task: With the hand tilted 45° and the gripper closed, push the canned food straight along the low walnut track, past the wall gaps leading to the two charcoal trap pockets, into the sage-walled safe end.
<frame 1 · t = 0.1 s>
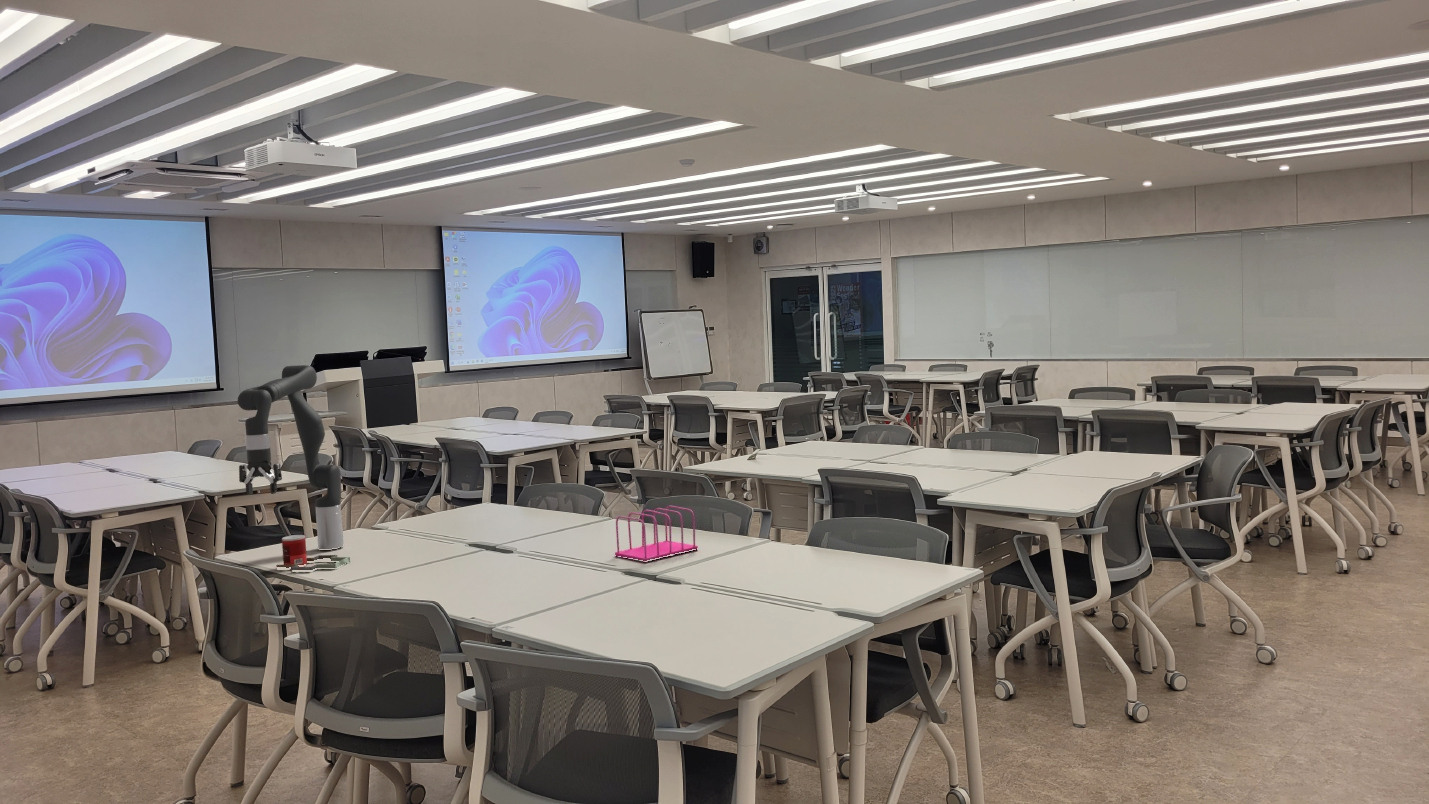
hand: (261, 493, 336), 29 cm above the table, tool pointing down, fingers open, 8 cm apart
file sorter: (656, 554, 351), on the table
canned food: (295, 567, 353), on the table
trap track: (313, 566, 352), on the table
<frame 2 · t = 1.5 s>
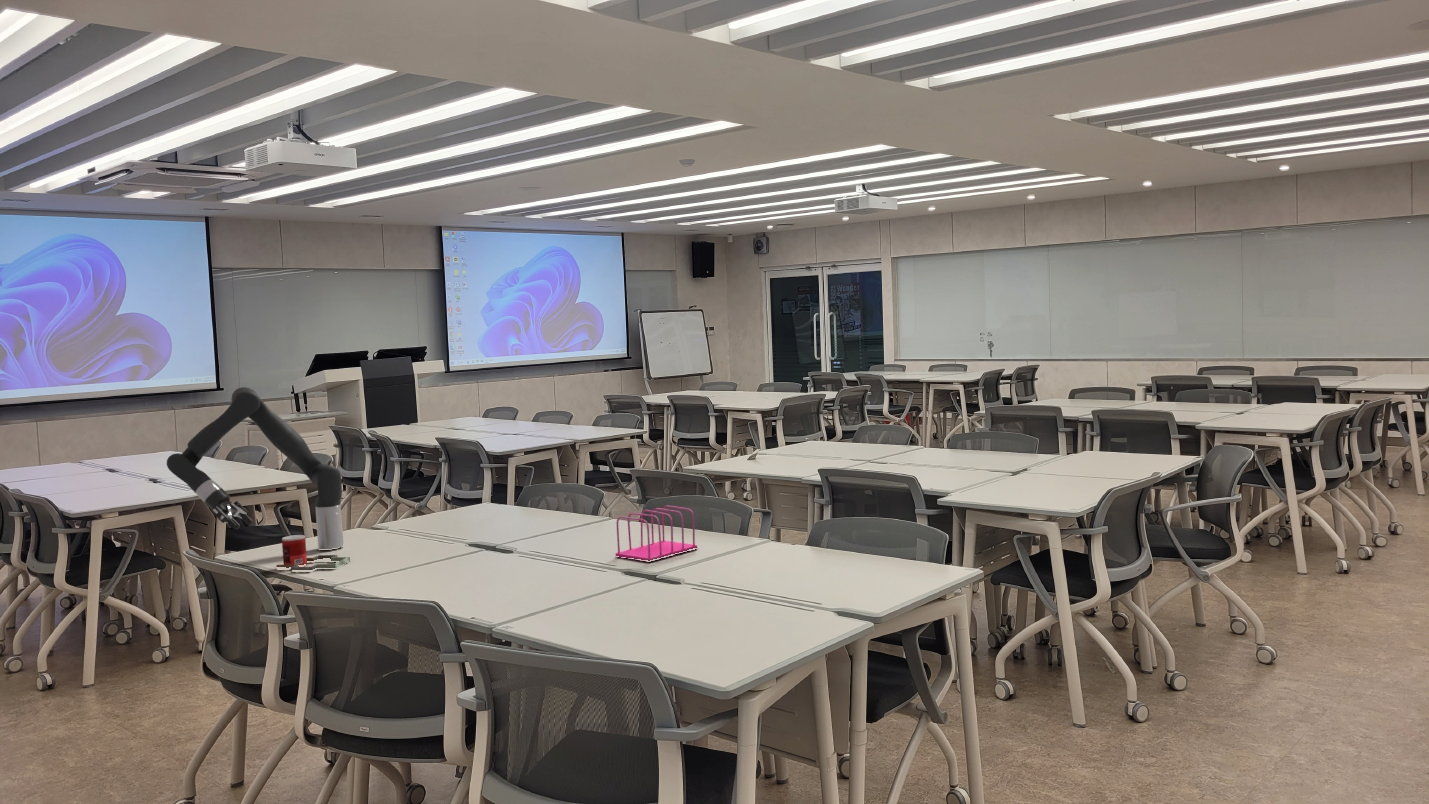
hand: (244, 525, 353), 16 cm above the table, tool tilted 45°, fingers open, 8 cm apart
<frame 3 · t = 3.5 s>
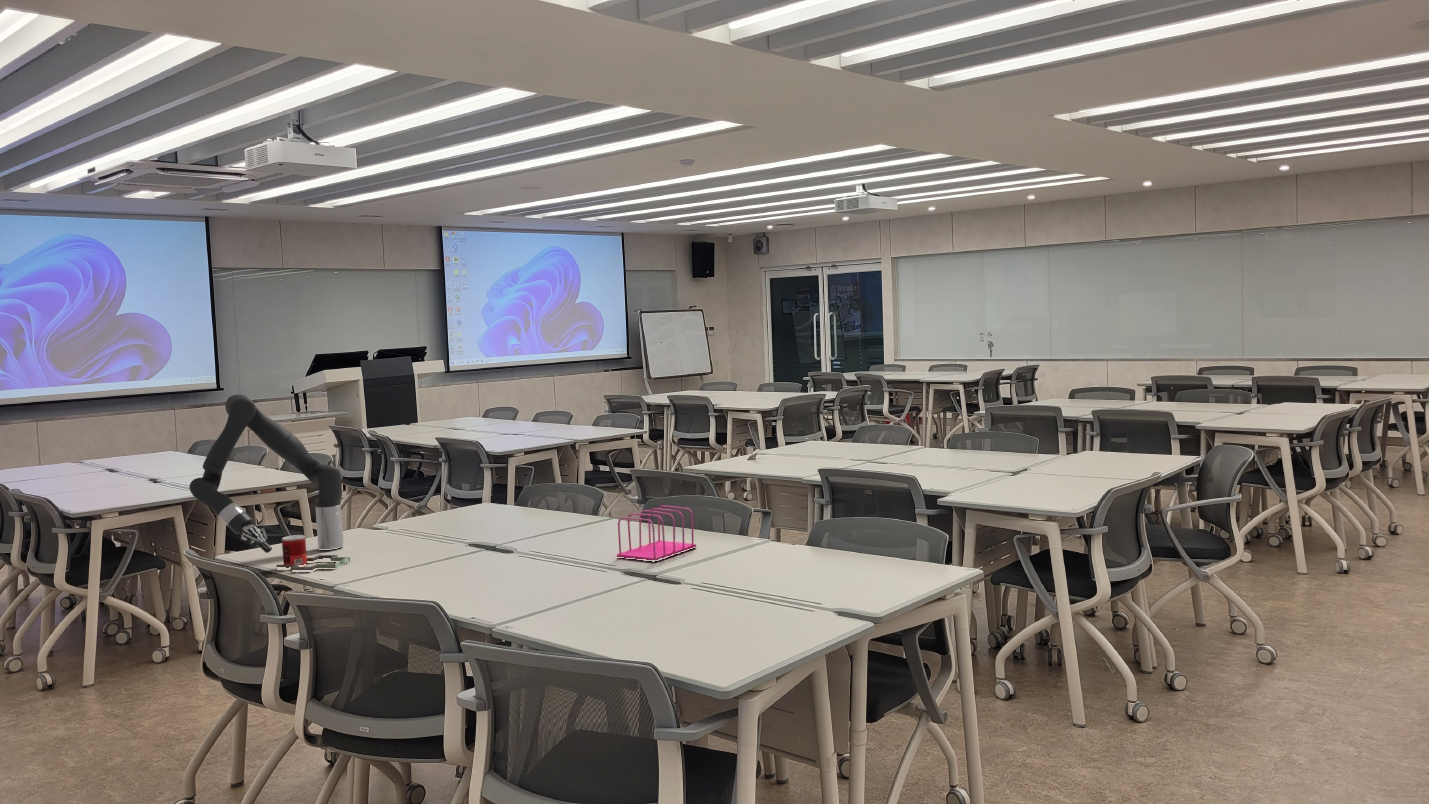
hand: (269, 550, 353), 6 cm above the table, tool tilted 45°, fingers closed
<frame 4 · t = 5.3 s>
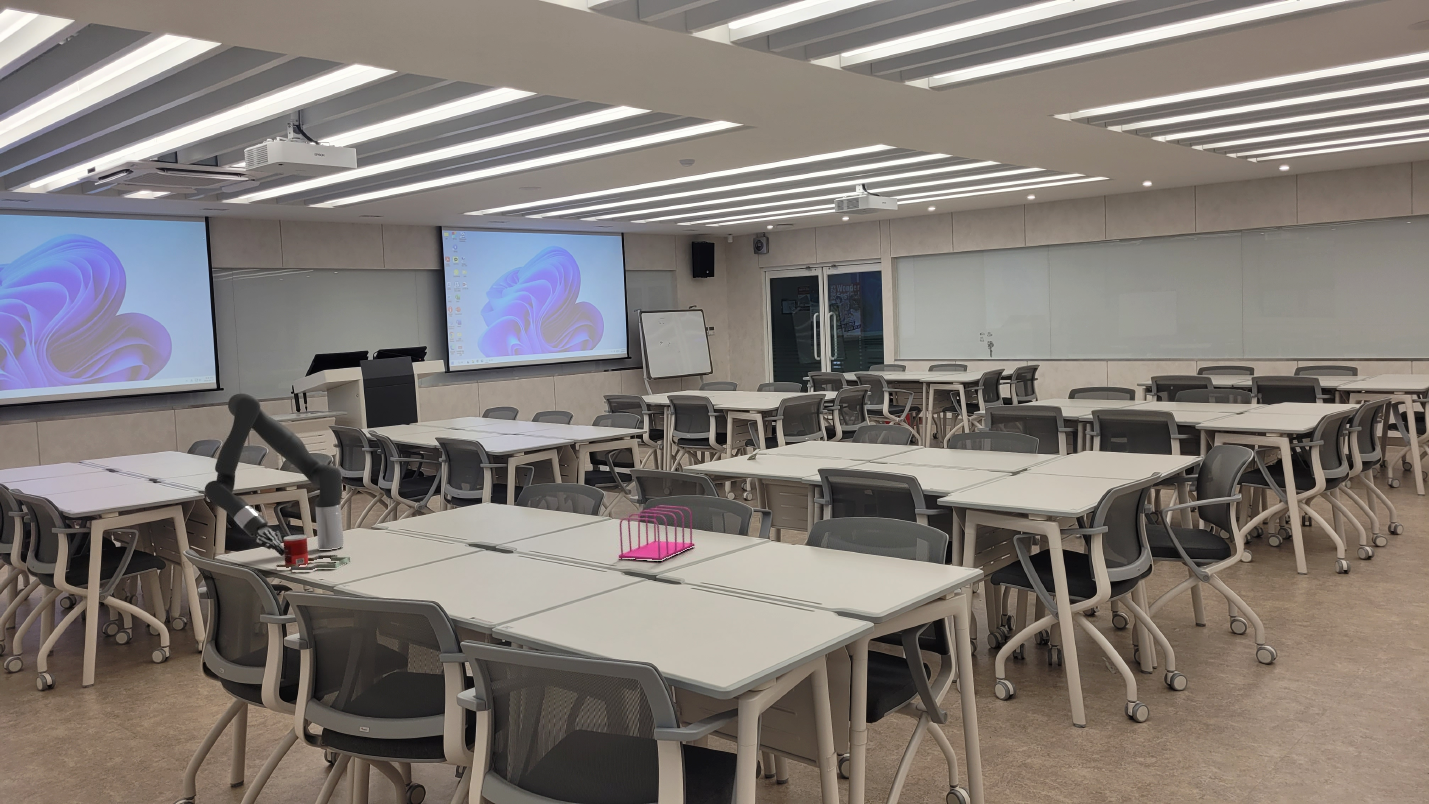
hand: (284, 553, 353), 5 cm above the table, tool tilted 45°, fingers closed
canned food: (297, 567, 353), on the table, touching gripper
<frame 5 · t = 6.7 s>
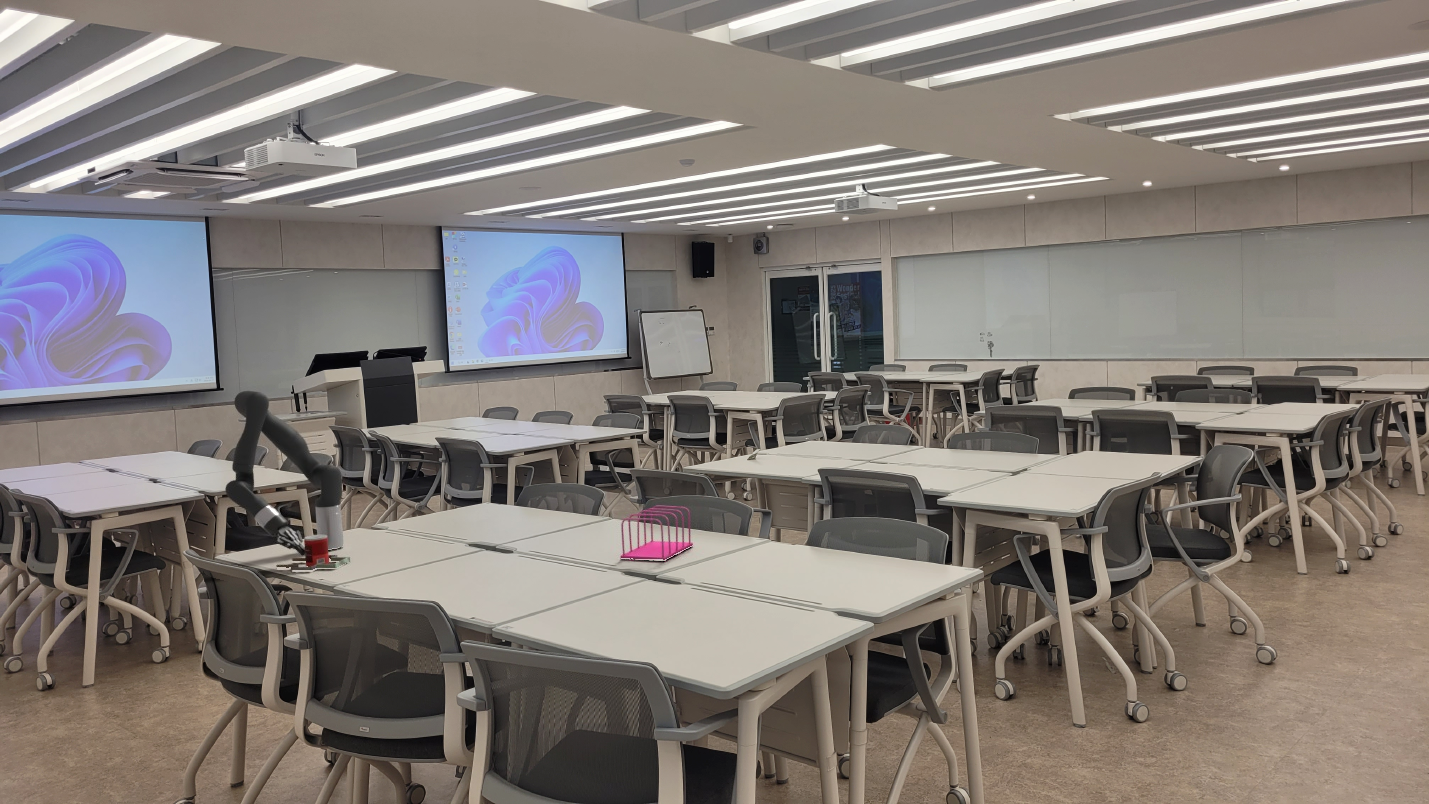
hand: (305, 553, 352), 5 cm above the table, tool tilted 45°, fingers closed
canned food: (317, 567, 352), on the table, touching gripper
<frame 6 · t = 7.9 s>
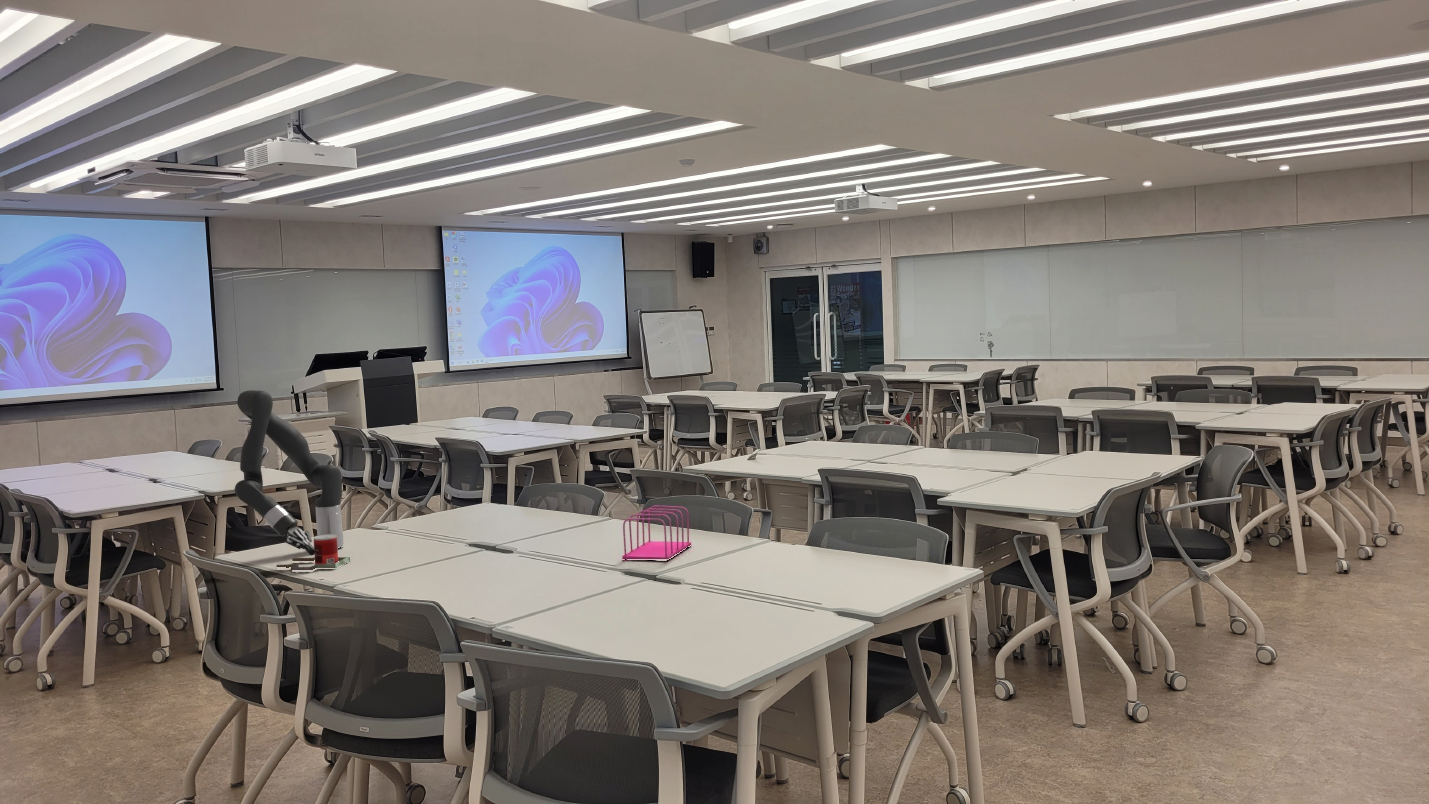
hand: (314, 553, 352), 5 cm above the table, tool tilted 45°, fingers closed
canned food: (327, 566, 351), on the table, touching gripper
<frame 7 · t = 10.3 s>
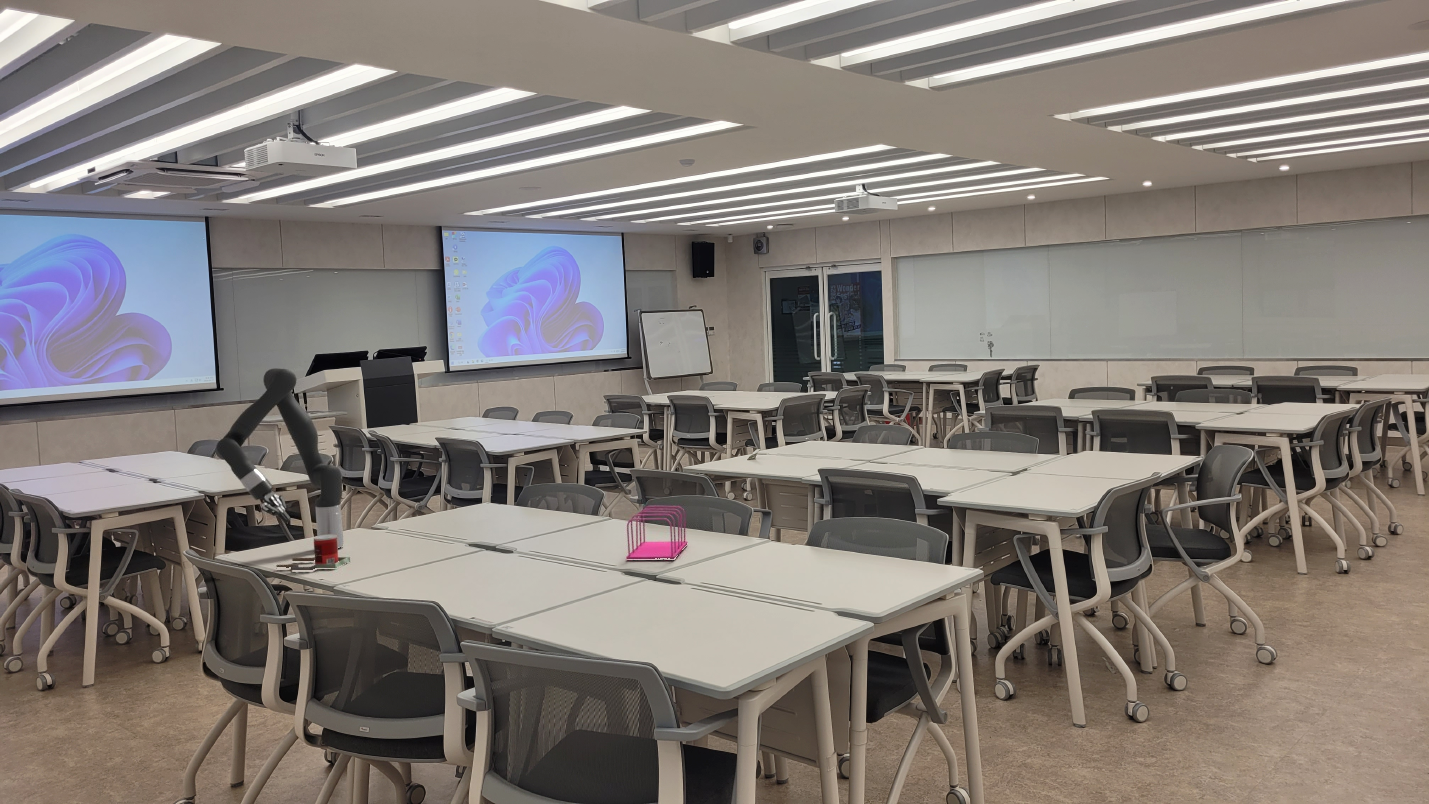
hand: (288, 520, 356), 16 cm above the table, tool tilted 35°, fingers closed
canned food: (327, 567, 351), on the table
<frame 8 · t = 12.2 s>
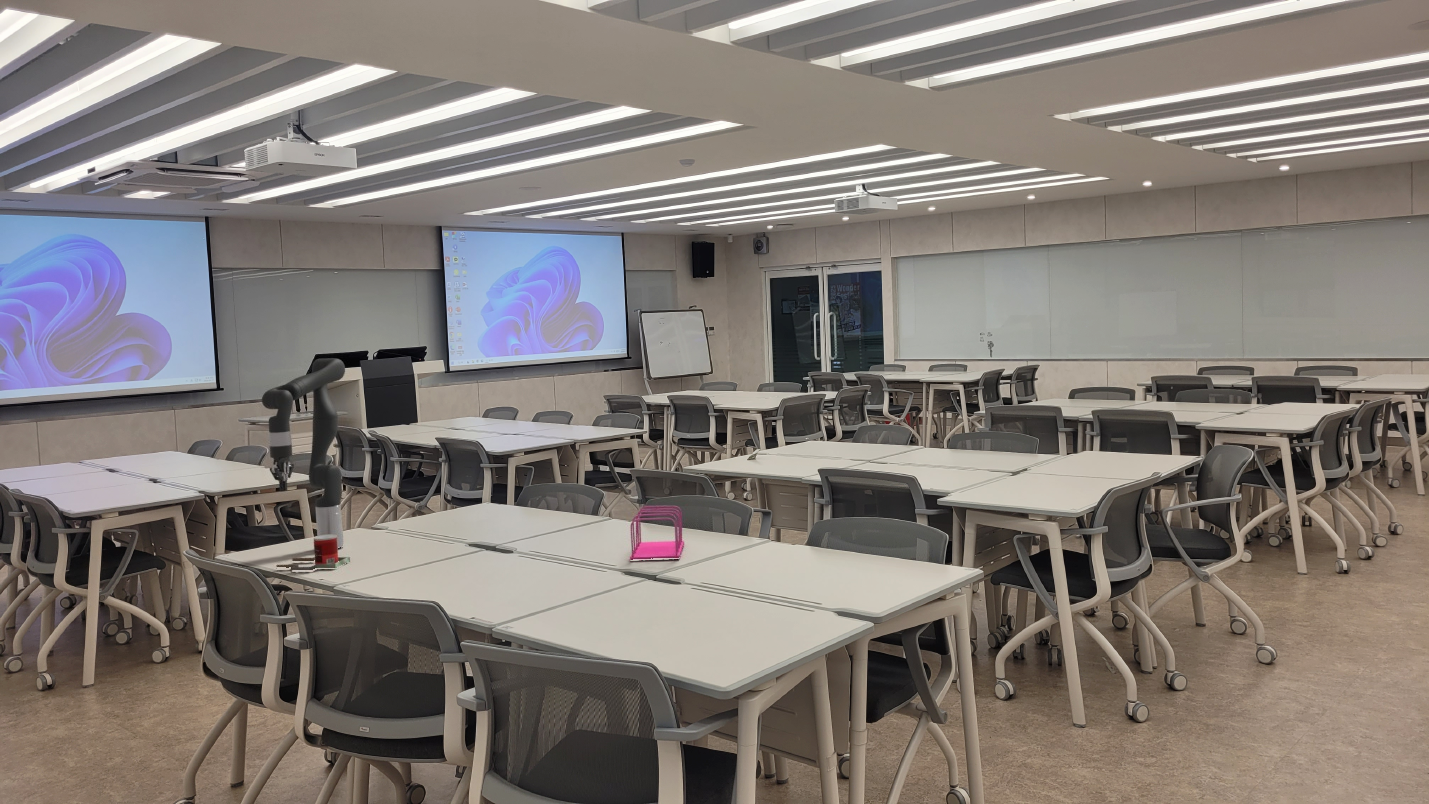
hand: (283, 490, 358), 27 cm above the table, tool pointing down, fingers closed
at the end: canned food 0.3 cm from the target spot on the trap track, point 0.0 cm above the trap track's base; canned food tilted 0° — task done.
